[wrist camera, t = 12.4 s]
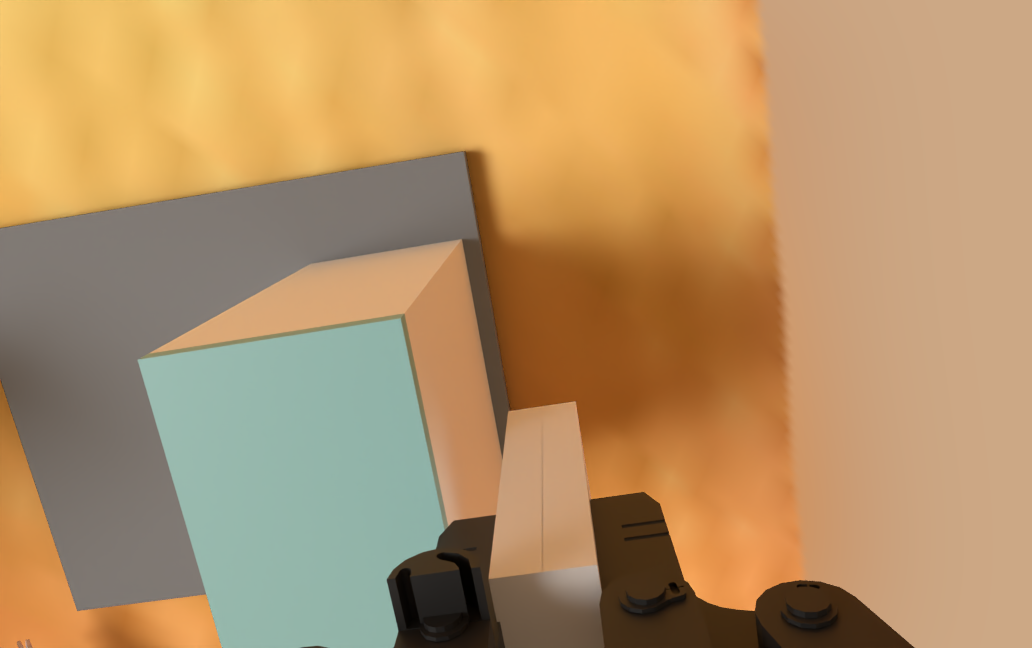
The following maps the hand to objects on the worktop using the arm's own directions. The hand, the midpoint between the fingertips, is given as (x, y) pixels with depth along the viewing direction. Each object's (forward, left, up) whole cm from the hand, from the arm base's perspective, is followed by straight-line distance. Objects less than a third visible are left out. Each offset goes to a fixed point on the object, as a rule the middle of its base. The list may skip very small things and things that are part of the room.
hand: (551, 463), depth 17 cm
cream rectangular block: (0, -5, -9) cm, 10 cm away
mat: (0, -10, -9) cm, 14 cm away
